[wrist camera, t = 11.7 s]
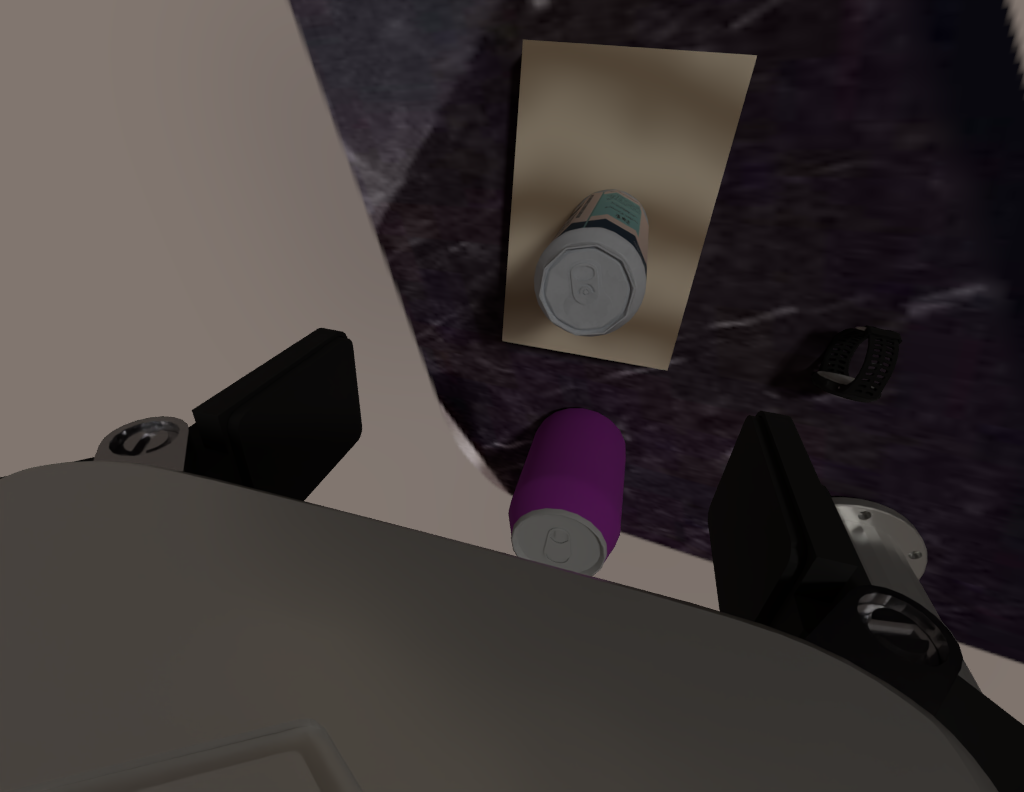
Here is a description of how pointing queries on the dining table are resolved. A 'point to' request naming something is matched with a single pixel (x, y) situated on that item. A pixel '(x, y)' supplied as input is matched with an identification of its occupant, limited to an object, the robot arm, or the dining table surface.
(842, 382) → the smartwatch
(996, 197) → the dining table surface
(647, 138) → the birch board
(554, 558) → the beverage can
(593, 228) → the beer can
